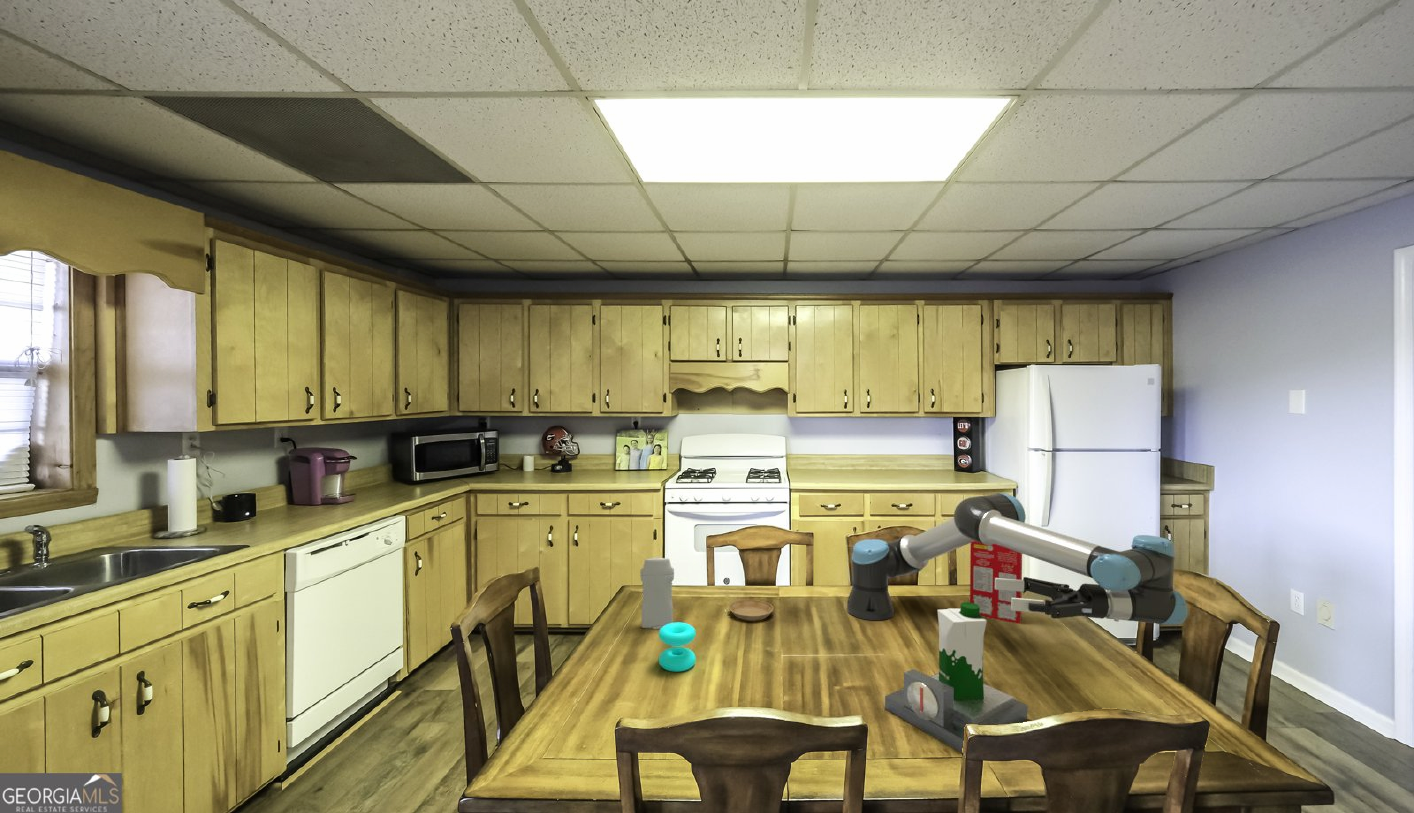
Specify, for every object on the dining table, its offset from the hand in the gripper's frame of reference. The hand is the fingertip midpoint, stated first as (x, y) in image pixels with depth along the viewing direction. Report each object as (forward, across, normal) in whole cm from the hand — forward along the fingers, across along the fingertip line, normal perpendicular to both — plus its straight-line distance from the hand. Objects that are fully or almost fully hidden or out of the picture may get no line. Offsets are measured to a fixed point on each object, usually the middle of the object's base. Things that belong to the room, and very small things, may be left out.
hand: (1002, 593), depth 135 cm
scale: (+12, -10, -25) cm, 30 cm away
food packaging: (-13, +54, -26) cm, 61 cm away
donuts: (+81, -2, -27) cm, 85 cm away
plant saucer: (+66, +37, -27) cm, 81 cm away
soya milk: (+11, -9, -21) cm, 25 cm away
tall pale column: (+94, +21, -27) cm, 100 cm away
